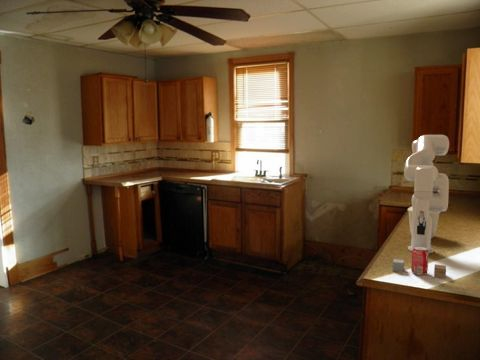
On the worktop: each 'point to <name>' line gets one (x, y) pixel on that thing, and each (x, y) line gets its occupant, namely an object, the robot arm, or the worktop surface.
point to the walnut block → (440, 271)
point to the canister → (434, 218)
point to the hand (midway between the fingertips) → (421, 232)
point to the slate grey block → (398, 265)
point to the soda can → (419, 260)
